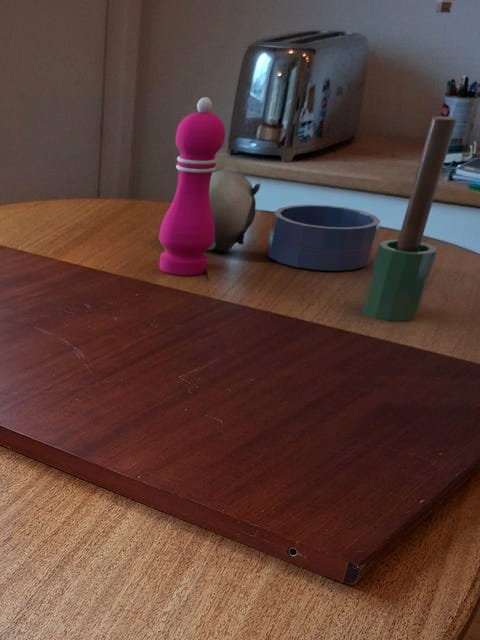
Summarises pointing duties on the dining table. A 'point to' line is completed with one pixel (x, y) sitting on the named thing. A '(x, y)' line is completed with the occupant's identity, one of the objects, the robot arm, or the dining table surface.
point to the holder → (398, 282)
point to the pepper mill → (192, 194)
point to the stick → (426, 183)
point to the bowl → (322, 237)
